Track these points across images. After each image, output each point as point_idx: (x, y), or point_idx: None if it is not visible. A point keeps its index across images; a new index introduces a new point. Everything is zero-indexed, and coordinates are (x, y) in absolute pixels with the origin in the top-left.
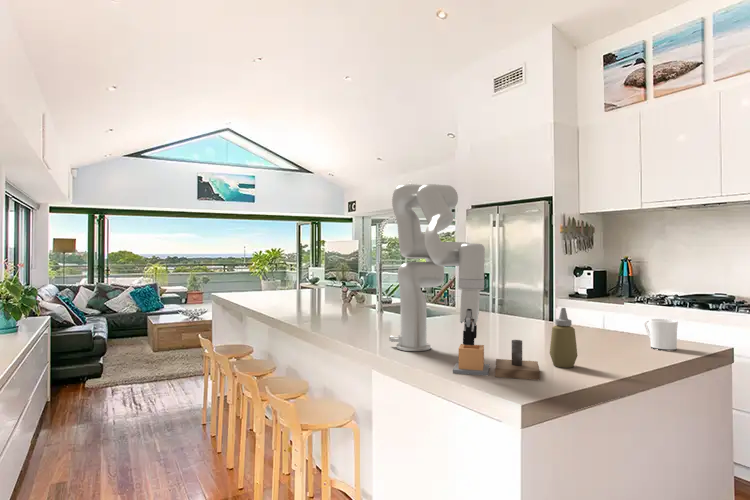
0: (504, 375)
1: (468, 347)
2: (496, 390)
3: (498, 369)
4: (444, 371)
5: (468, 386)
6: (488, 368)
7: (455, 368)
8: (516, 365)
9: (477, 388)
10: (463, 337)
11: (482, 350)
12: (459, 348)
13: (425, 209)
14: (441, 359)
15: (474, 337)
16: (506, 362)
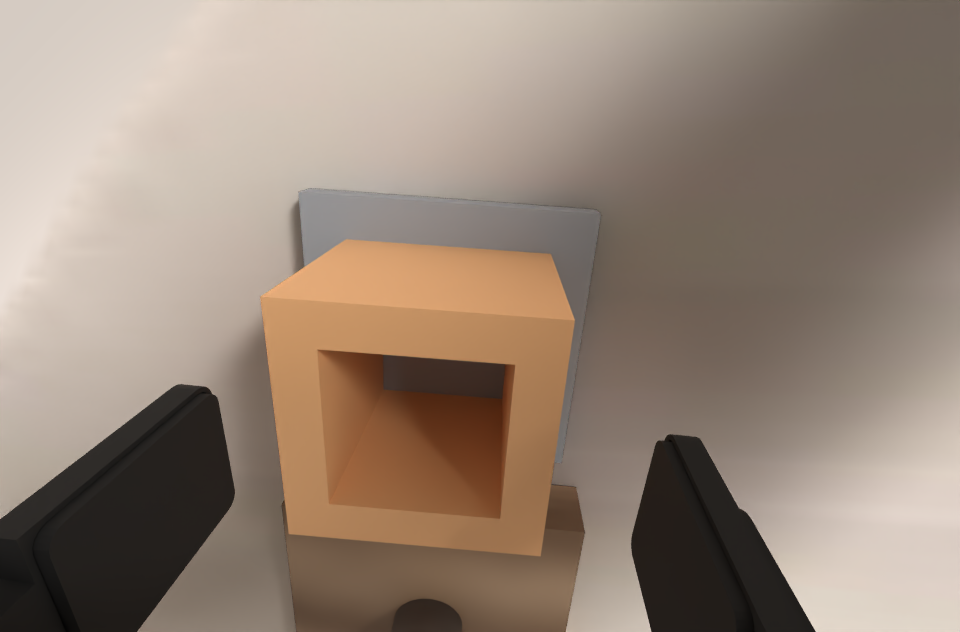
0: None
1: (510, 395)
2: (25, 449)
3: (286, 516)
4: (351, 108)
5: (15, 305)
6: None
7: (353, 212)
8: (393, 619)
9: (3, 356)
10: (101, 447)
11: (289, 525)
12: (266, 307)
13: None
14: (858, 34)
15: (633, 537)
16: (478, 578)
